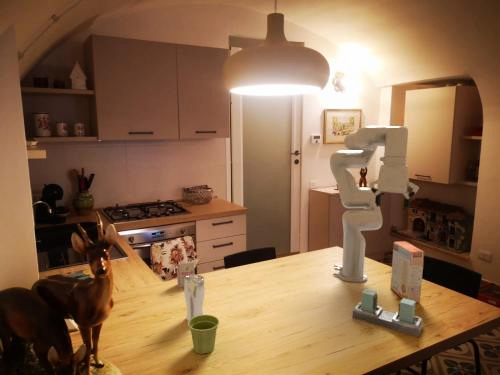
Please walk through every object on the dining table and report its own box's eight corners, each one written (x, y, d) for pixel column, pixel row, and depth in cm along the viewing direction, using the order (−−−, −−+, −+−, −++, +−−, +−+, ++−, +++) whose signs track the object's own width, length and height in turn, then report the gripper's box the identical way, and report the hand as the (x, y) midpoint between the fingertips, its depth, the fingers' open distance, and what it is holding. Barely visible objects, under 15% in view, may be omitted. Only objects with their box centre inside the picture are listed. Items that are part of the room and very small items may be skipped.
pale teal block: (400, 316, 129) (401, 297, 128) (414, 320, 126) (415, 301, 125) (397, 321, 126) (398, 301, 125) (411, 325, 123) (412, 305, 122)
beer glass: (199, 325, 127) (198, 283, 125) (181, 321, 129) (180, 280, 127) (208, 315, 134) (207, 275, 131) (191, 312, 136) (190, 273, 134)
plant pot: (182, 353, 111) (181, 326, 110) (198, 337, 119) (198, 312, 118) (209, 361, 107) (209, 333, 106) (224, 344, 116) (224, 318, 114)
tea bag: (177, 284, 161) (177, 262, 159) (193, 282, 163) (192, 260, 161) (178, 288, 157) (178, 265, 156) (194, 285, 159) (194, 263, 158)
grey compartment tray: (352, 317, 133) (352, 308, 133) (358, 309, 139) (359, 301, 139) (418, 337, 121) (419, 327, 120) (422, 327, 127) (423, 318, 126)
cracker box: (421, 303, 145) (425, 251, 142) (406, 303, 145) (410, 251, 142) (403, 288, 159) (406, 240, 156) (389, 288, 158) (393, 241, 155)
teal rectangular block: (360, 311, 133) (362, 292, 132) (364, 307, 136) (365, 288, 135) (373, 314, 130) (374, 295, 129) (377, 310, 133) (378, 291, 132)
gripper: (367, 160, 136) (365, 206, 139) (418, 163, 127) (414, 212, 129) (373, 159, 142) (371, 203, 145) (422, 161, 133) (419, 208, 135)
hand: (391, 207), depth 137 cm, fingers open, 9 cm apart
